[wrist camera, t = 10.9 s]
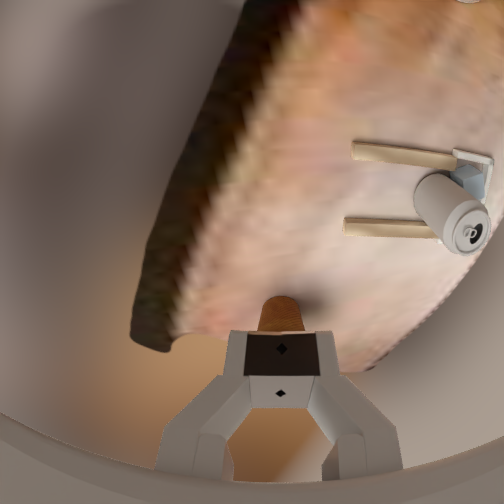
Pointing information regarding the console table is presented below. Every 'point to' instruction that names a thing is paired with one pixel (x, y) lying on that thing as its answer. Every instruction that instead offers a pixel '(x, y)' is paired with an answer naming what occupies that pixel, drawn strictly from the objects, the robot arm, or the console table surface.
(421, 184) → the can
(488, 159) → the white u-shaped frame
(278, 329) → the disposable coffee cup
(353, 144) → the slot rails
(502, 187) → the console table surface
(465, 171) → the light blue boxy piece
